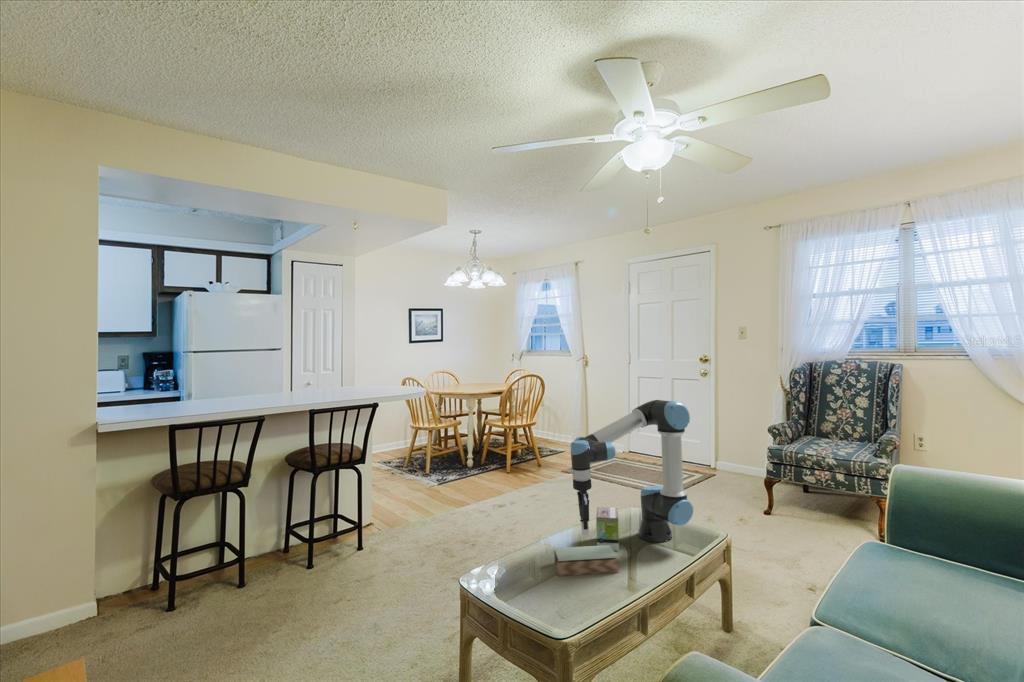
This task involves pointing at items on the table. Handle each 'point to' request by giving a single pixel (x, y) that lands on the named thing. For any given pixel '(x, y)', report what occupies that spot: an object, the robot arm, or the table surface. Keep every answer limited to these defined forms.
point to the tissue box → (586, 566)
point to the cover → (585, 553)
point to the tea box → (607, 527)
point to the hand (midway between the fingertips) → (585, 536)
